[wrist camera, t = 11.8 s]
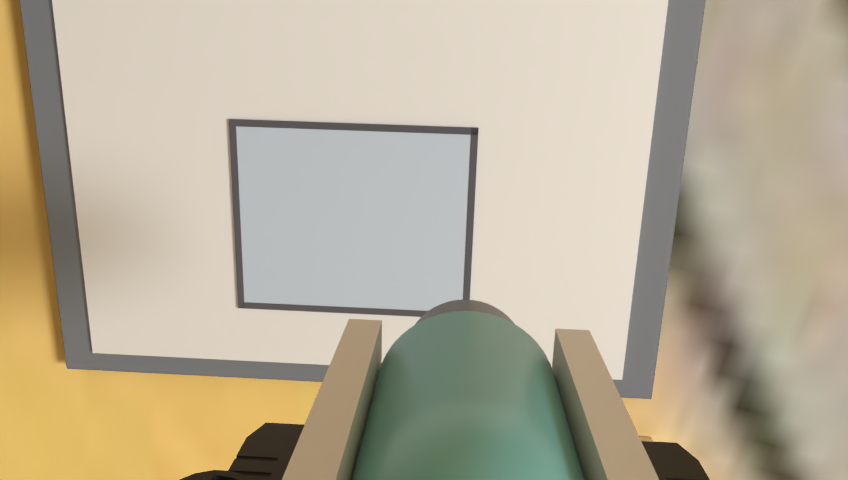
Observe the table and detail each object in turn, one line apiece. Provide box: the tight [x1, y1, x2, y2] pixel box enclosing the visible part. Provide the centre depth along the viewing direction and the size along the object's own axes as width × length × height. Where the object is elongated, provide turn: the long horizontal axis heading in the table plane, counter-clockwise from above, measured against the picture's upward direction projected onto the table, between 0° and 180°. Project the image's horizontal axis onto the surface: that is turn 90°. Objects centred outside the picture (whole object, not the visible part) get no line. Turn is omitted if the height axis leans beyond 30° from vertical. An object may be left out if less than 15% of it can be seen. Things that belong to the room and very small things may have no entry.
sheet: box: [20, 0, 705, 399], centre depth 29 cm, size 28×20×1 cm
